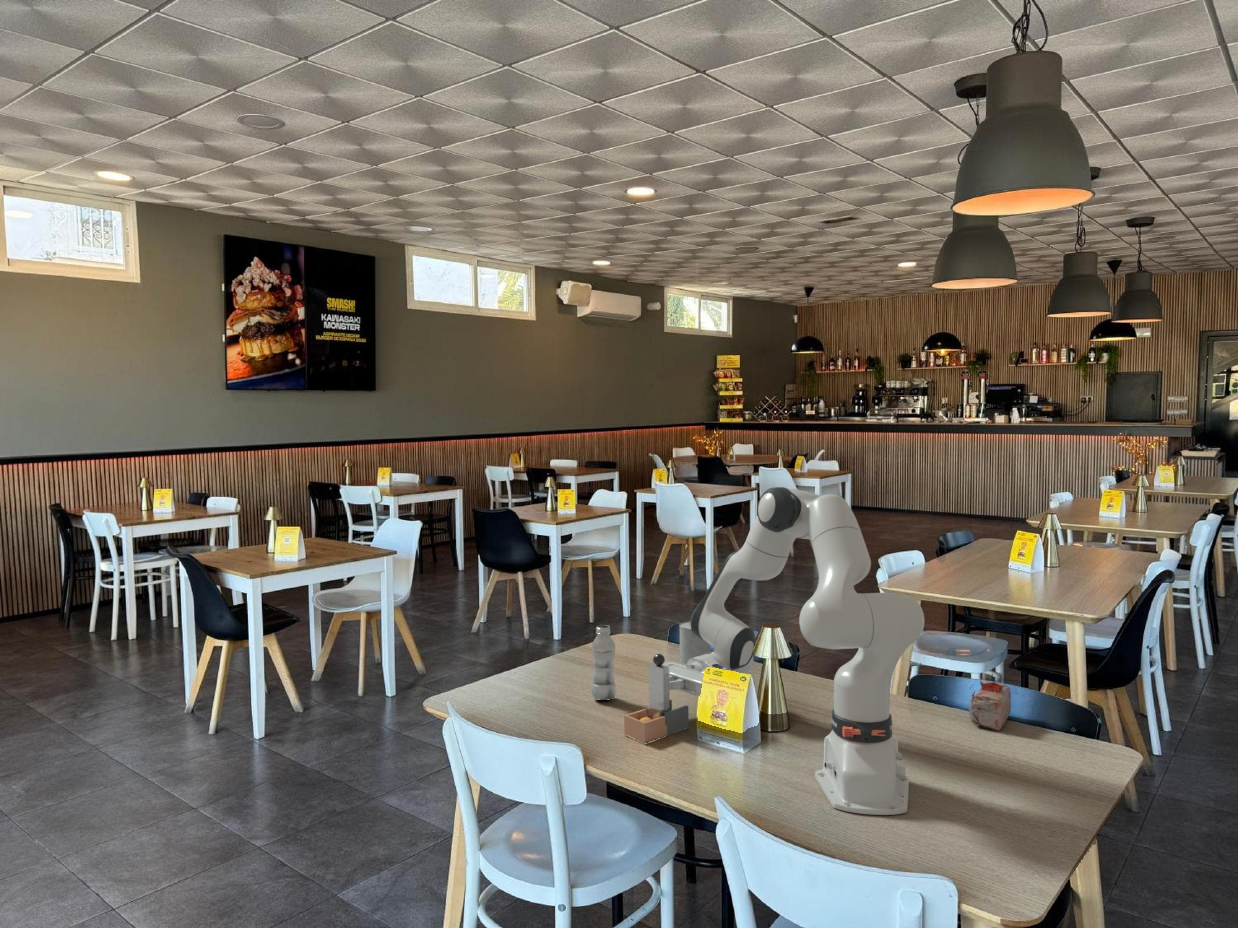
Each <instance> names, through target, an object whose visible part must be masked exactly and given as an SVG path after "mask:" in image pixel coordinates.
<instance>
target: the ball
mask: <svg viewBox="0 0 1238 928" xmlns="http://www.w3.org/2000/svg"><path fill="white" fill-rule="evenodd" d="M640 720H641V721H643V722H647V721H650V720H652V719H650V718H648V716H647V717H644V718H642V719H640Z"/></svg>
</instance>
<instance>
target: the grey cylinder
mask: <svg viewBox="0 0 1238 928" xmlns="http://www.w3.org/2000/svg"><path fill="white" fill-rule="evenodd" d="M704 654H711V645H710V644H708V643H707V642H706V641H704V640H702V639H701V638H699V637H697V636H696V635H694V634H693V632H692V630H691V620H689V621H684V622H681V623H679V663H680V662H681V663H684V664H687V662H688V661H689V660H690V659H691V658H694V657H697V656H701V655H704Z"/></svg>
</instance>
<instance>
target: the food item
mask: <svg viewBox="0 0 1238 928" xmlns="http://www.w3.org/2000/svg"><path fill="white" fill-rule="evenodd" d="M979 684H980V686H981V687H980V688H979V690H978V691H977V693H976V690H974V691H973V692H972V693H971V697H970V700H969V707H970V708H969V719H970V721H971V724H974V725H975V726H978V727H980V728H984V729H987V728H988V729H987V730H991V729H992V730H993V731H998V732H999V731H1001V729H1002V728H1003V726H1004V725H1005V723H1006V721H1007V719H1008V718H1009V716H1010V713H1011V711H1012V700H1011V699H1012V694H1011V693H1012V692H1011V687H1009V686H1008V685H1007V684H1004V683H1001V682H997V681H986V682H983V681H982V680H980V681H979Z"/></svg>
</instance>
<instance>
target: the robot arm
mask: <svg viewBox="0 0 1238 928" xmlns="http://www.w3.org/2000/svg"><path fill="white" fill-rule="evenodd" d="M756 515H757V516H756V517H755V520H754V522H753V523H752V525H751V527H750V529H749V531H748V535H747V536H746V540H745V542H744V544H743V546H741V547H740V549H739V550H738V551H733V552H732V553H730V554H729V555H728V556H727V557H726V559H725V560H724V561H723V563H722V564H721V566H720V568H719V570H718V571H717V573H716V574H715V577H714V578H713V580H712V582H711V584H710V586H709V587H708V590H707V591H706V592H705V595H704V596H703V597H702V599H701V600H700V602H699V603H698V604H697V606H696V607H695V608H694V609H693V611H692V613H691V616H690V621H691V630H692V632H693V634H694V635H696V636H697V637H699V638H701V639H702V640H704V641H706V642H707V643H708V644H710V647H712V648H713V651H712V652H710V654H704V655H701V656H697V657H694V658H691V659H690V660H689V661H688V662H687V664H686V666H685V665H682V664H680V662H679V663H678V662H674V661H664V663H663V664H662V665H665V666H668V667H669V691H671V690H672V691H673V690H674V691H675V690H680V691H683V692H686V693H689V694H693V695H695V696H698V697H701V696H700V694H701V688H702V682H703V677H704V671H705V670H706V668H707V667H712V668H719V669H722V670H731V671H736V672H739V673H747V674H748V675H749V674H751V672H752V670H753V667H754V664H755V661H754V657H753V656H754V654H753V648H754V646H755V647H756V633H755V631H754V630H753V629H752V628H751V627H750V626H748V625H747V624H746V623H744V622H743V621H742V620H740V619H739V618H738V617H736V616H734V615H733V614H731V613H730V612H729V611H727V610H726V607H725V603H726V600H727V599H728V597H729V595H730V593H732V589H733V588H734V586H735V584H736V583H737V581H739V580H741V579H745V580H752V581H769V580H771V579H774V578H775V577H777V576H779V575H780V574H781V572H782V571H783V569H784V568H785V566H786V563H787V561H788V558H789V556H790V552H791V550H792V547H793V544H794V541H796V539H803V540H810V544H811V547H812V548H811V549H812V551H813V554H814V559H815V563H816V568H817V572H818V574H817V575H818V583H817V588H815V592H814V593H813V595H812V596H811V597H810V598H809V599H807V600H806V601H805V603H804V605H802V608H801V610H800V613H799V618H798V623H799V629H800V632H801V634H802V636H803V638H804V639H805V640H806V641H807V643H808V644H809V645H810V646H812V647H817V648H822V649H829V650H849V649H858V650H857V652H856V654H854V656H853V658H852V659H850V660H849V661H847V662H846V663H845V664H843V665H842V666H840V667H839V668H838V670H837V671H836V673H835V675H834V678H833V709H832V710H831V716H830V717H831V719H830V720H831V729H832V730H831V731H830V732H829V733H828V735H826V736H825V737H824V741H823V742H824V745H823V768H822V769H818V770H816V771H815V773H814V778H815V780H816V782H817V783H818V785H819V786H820V789H821V790H822V792H823V793H824V794H825V796H826V798H827V799H828V802H830V805H831V806H832V807H833V809H838V810H839V811H843V812H848V813H854V814H862V815H875V816H876V815H877V816H879V815H880V816H889V815H891V816H893V815H894V816H895V815H901V814H906V813H907V812H908V807H909V796H910V795H909V793H910V792H909V791H910V779H909V776H907V775H906V766H905V765H899V761H901V760H903V759H902V758H903V754H902V752H899V741H898V740H897V739H896V738H895V737H894V736H893V720H892V714H891V713H890V709H891V708H890V706H891V704H890V703H891V702H890V701H891V688H892V687H891V685H892V678H893V675H894V671H895V669H896V668H897V667H896V666H897V665H898V662H899V660H900V659H901V657H902V655H903V654H904V653H905V651H907V649H908V648H909V647H910V646H911V645H913V643H915V642H916V641H917V640H919V638H920V637H921V636H922V633H923V631H924V629H925V615H924V611H923V609H922V607H921V605H920V603H919V601H917V600H916V599H915V597H913V596H912V595H908V594H904V593H897V592H869V593H860V592H859V593H858V592H857V591H856V589H855V587H854V586H855V585H857V584H859V583H860V582H861V581H863V580H864V579H865V578H866V577H867V576H868V574H869V573H870V570H871V566H872V560H871V557H870V554H869V552H868V547H867V545H866V542H865V539H864V536H863V533H862V530H861V528H860V525H859V522H858V520H857V518H856V515H855V514H854V512H853V509H851V507H850V505H849V503H848V502H847V500H846V499H844V498H843V496H841V495H837V494H832V493H829V494H828V493H827V494H823V495H819V494H817V493H813V492H810V491H807V490H801V489H792V488H787V487H780V486H776V487H770V488H768V489H766V490H765V491H764V492H763V493H762V494H761V496H760V498H759V500H758V502H757V507H756Z"/></svg>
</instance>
